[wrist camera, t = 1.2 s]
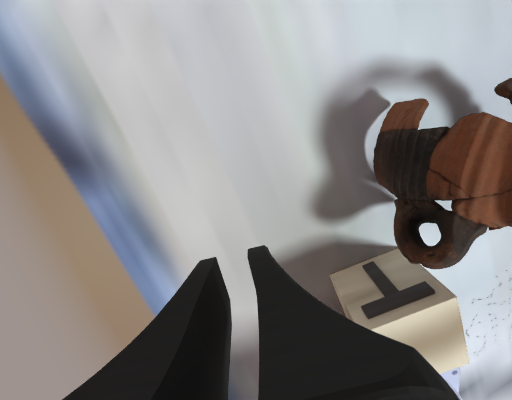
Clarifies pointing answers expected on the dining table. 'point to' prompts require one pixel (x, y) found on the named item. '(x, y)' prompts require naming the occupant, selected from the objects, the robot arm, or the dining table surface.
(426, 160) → the brown curved wooden piece
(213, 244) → the dining table surface
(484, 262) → the dining table surface
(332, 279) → the letter cube
